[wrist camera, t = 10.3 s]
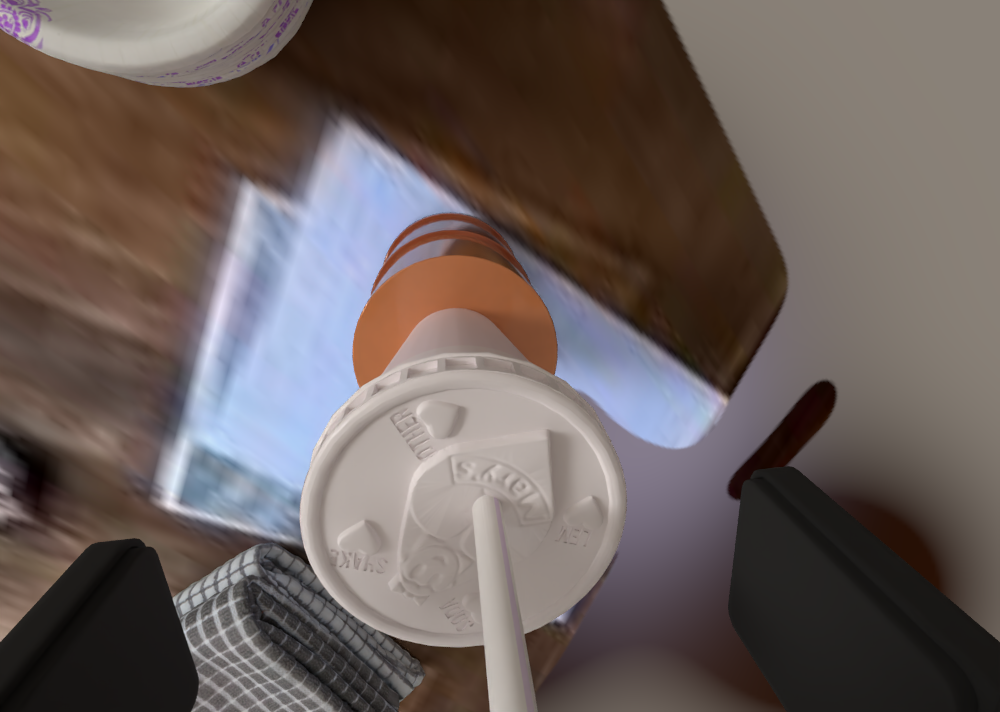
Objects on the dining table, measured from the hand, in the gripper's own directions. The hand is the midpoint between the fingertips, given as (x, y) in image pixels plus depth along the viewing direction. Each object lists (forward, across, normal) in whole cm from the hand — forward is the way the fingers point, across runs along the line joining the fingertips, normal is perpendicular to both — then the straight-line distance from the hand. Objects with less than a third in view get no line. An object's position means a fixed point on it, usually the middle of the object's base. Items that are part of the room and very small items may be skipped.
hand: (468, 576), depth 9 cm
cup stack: (+25, 0, 0) cm, 25 cm away
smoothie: (+12, 0, 0) cm, 12 cm away
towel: (+25, +15, +28) cm, 40 cm away
